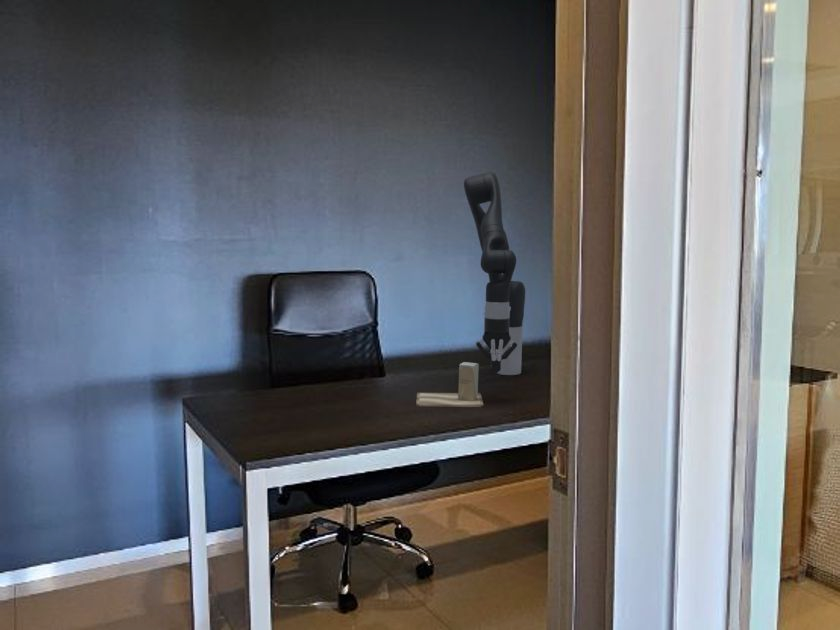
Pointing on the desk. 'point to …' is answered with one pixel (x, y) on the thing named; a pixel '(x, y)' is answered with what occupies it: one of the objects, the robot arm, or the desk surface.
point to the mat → (446, 400)
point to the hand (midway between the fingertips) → (495, 372)
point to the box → (468, 381)
